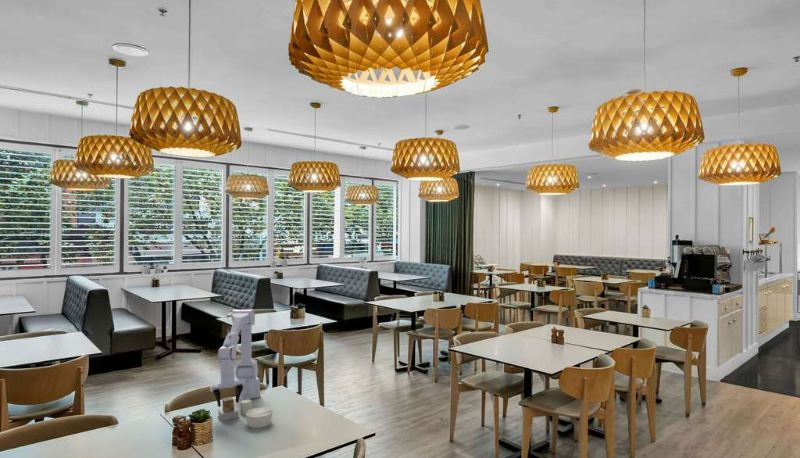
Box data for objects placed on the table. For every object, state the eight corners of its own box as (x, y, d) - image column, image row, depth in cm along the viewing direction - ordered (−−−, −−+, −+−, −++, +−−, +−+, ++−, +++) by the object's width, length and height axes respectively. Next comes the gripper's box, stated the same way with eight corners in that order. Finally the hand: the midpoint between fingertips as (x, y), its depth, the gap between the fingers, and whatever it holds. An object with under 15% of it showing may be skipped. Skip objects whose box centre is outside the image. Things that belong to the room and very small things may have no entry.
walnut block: (231, 407, 220) (231, 396, 220) (234, 410, 217) (233, 399, 217) (222, 409, 218) (222, 398, 218) (224, 412, 215) (224, 401, 215)
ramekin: (265, 430, 202) (265, 417, 202) (240, 428, 205) (240, 416, 205) (277, 419, 213) (277, 407, 213) (253, 418, 216) (253, 406, 216)
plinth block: (234, 412, 223) (234, 406, 223) (238, 417, 217) (238, 410, 217) (218, 416, 219) (218, 409, 219) (222, 421, 213) (222, 414, 213)
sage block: (249, 410, 226) (249, 399, 226) (251, 412, 222) (251, 401, 222) (240, 412, 224) (240, 401, 223) (242, 414, 220) (242, 403, 220)
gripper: (212, 378, 210) (213, 410, 210) (246, 372, 218) (247, 403, 218) (208, 374, 216) (209, 405, 216) (242, 369, 224) (243, 398, 224)
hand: (228, 404), depth 218 cm, fingers open, 7 cm apart
